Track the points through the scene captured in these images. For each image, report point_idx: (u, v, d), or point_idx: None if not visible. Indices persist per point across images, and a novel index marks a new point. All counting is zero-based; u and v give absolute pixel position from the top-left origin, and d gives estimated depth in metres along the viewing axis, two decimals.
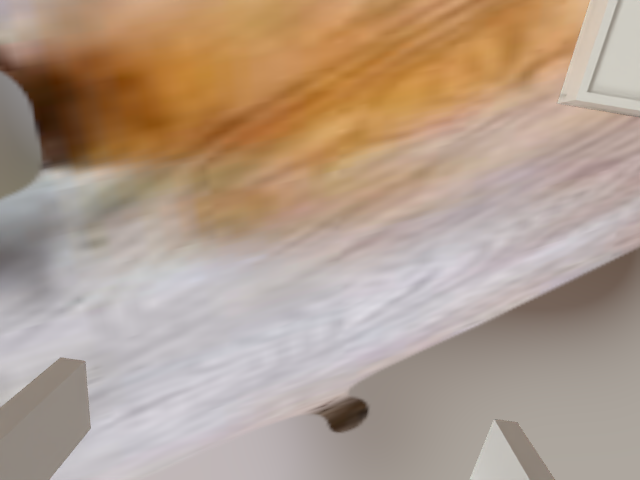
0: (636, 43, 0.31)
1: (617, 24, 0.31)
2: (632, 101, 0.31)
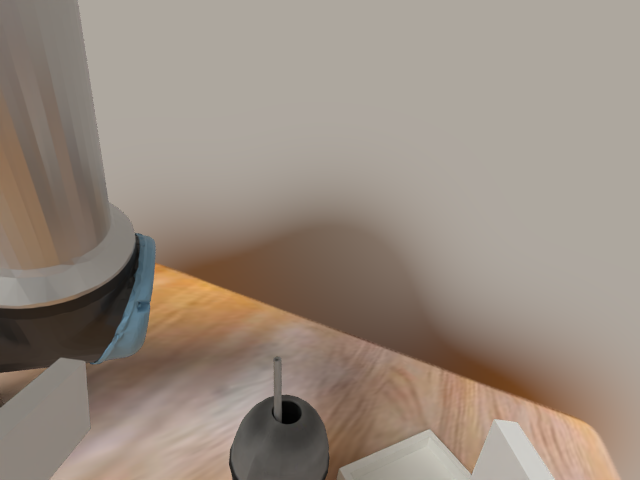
0: None
1: None
2: None
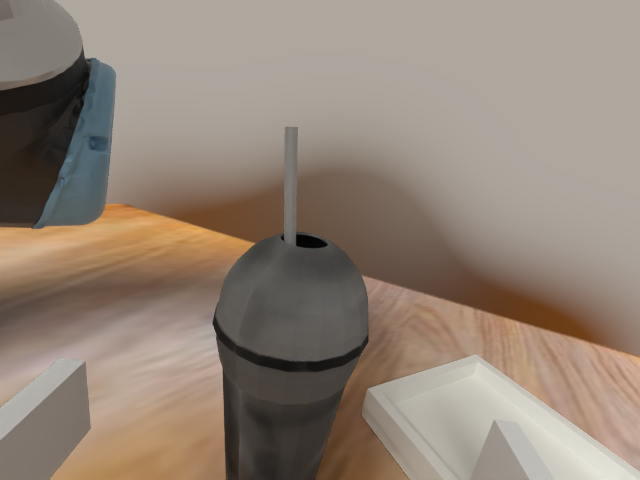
0: None
1: None
2: None
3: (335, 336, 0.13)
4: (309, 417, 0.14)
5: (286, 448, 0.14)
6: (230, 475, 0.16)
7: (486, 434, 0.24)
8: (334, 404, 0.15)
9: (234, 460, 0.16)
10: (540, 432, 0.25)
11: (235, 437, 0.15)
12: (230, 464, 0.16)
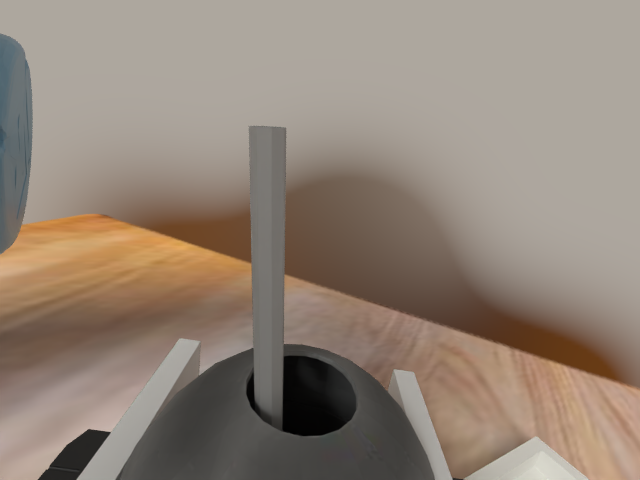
0: None
1: None
2: None
3: None
4: None
5: None
6: None
7: None
8: None
9: None
10: None
11: None
12: None
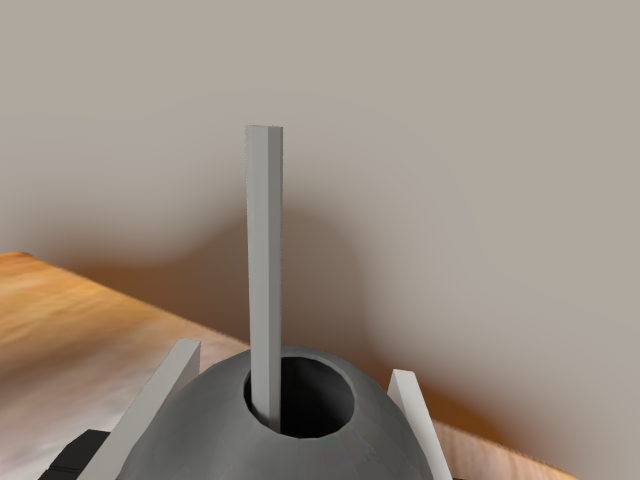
0: None
1: None
2: None
3: None
4: None
5: None
6: None
7: None
8: None
9: None
10: None
11: None
12: None
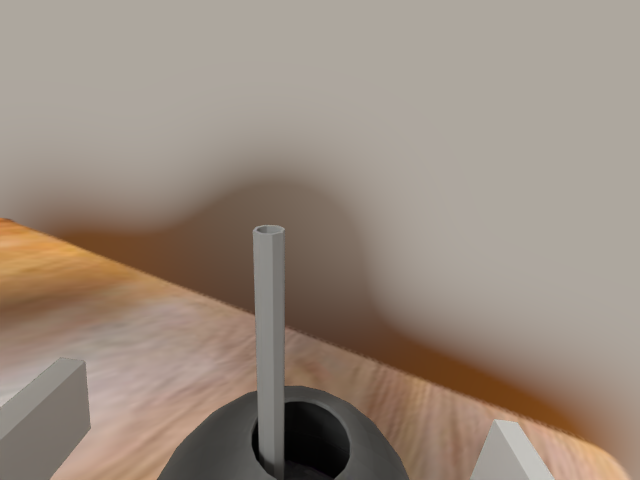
0: None
1: None
2: None
3: None
4: None
5: None
6: None
7: None
8: None
9: None
10: None
11: None
12: None
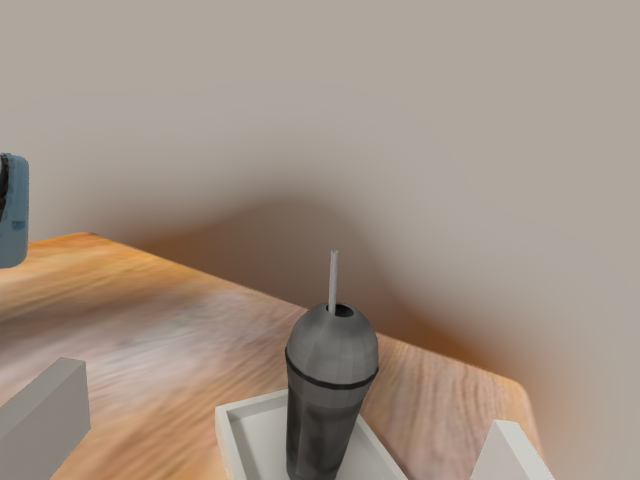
0: None
1: None
2: None
3: (360, 369, 0.22)
4: (344, 416, 0.24)
5: (329, 435, 0.24)
6: (291, 453, 0.26)
7: None
8: (358, 408, 0.25)
9: (295, 443, 0.26)
10: (354, 442, 0.32)
11: (297, 428, 0.25)
12: (292, 446, 0.26)
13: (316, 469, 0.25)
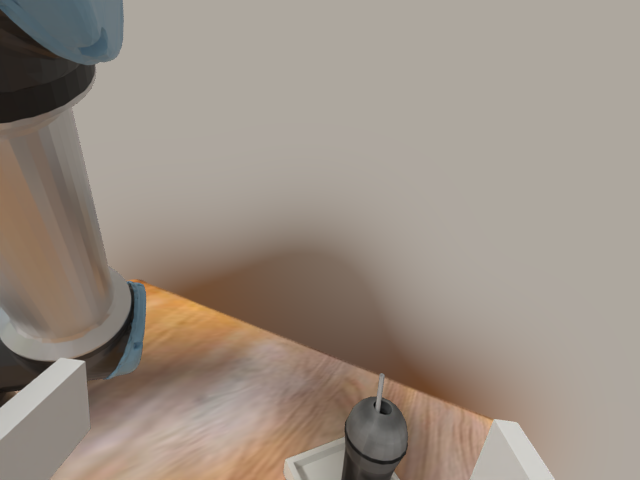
0: None
1: None
2: None
3: (398, 451, 0.35)
4: (385, 477, 0.36)
5: None
6: None
7: None
8: (393, 470, 0.37)
9: None
10: None
11: None
12: None
13: None
